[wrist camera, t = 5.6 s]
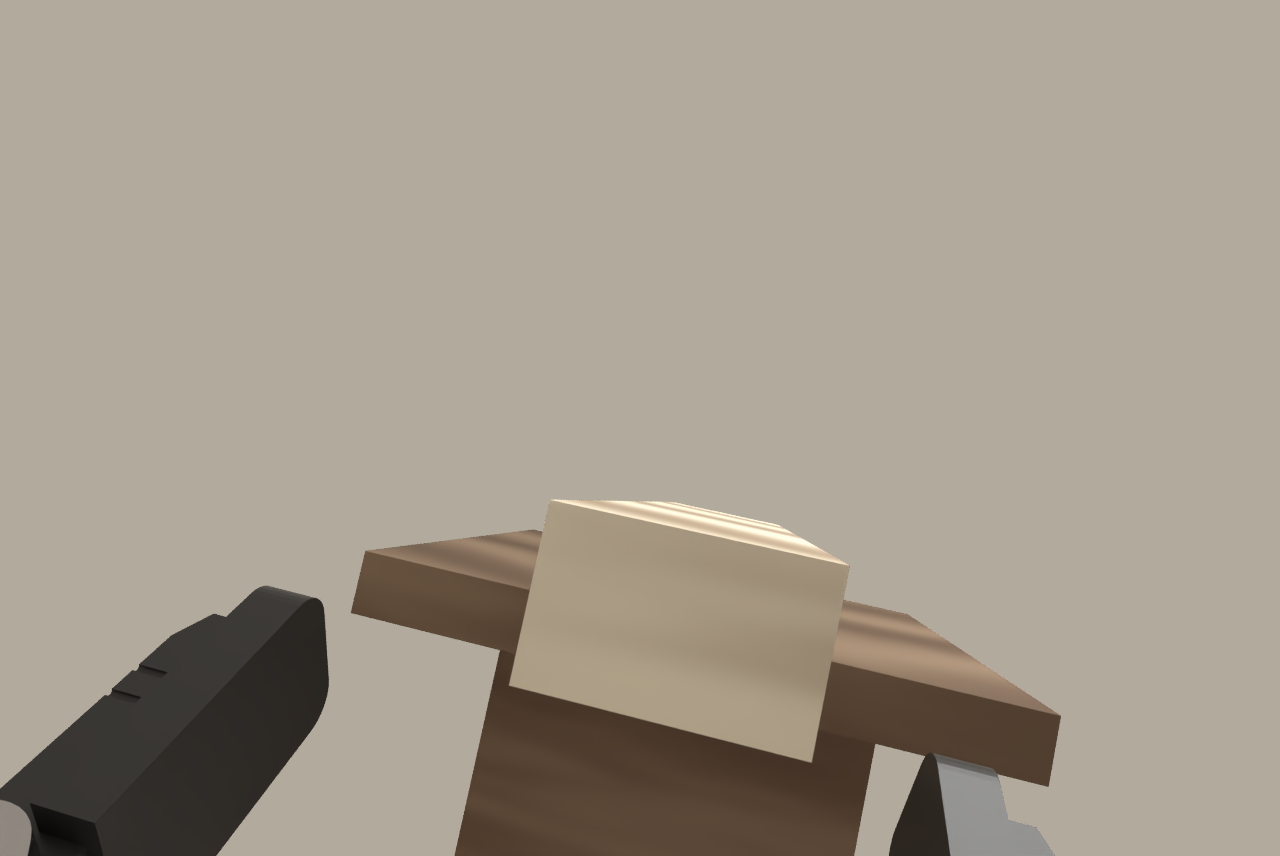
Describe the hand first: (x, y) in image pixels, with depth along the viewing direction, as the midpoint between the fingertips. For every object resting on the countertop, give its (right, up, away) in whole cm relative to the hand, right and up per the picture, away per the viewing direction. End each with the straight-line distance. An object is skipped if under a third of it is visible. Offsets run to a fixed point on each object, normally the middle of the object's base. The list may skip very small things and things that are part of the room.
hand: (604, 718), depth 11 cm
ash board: (+2, -1, +10) cm, 10 cm away
